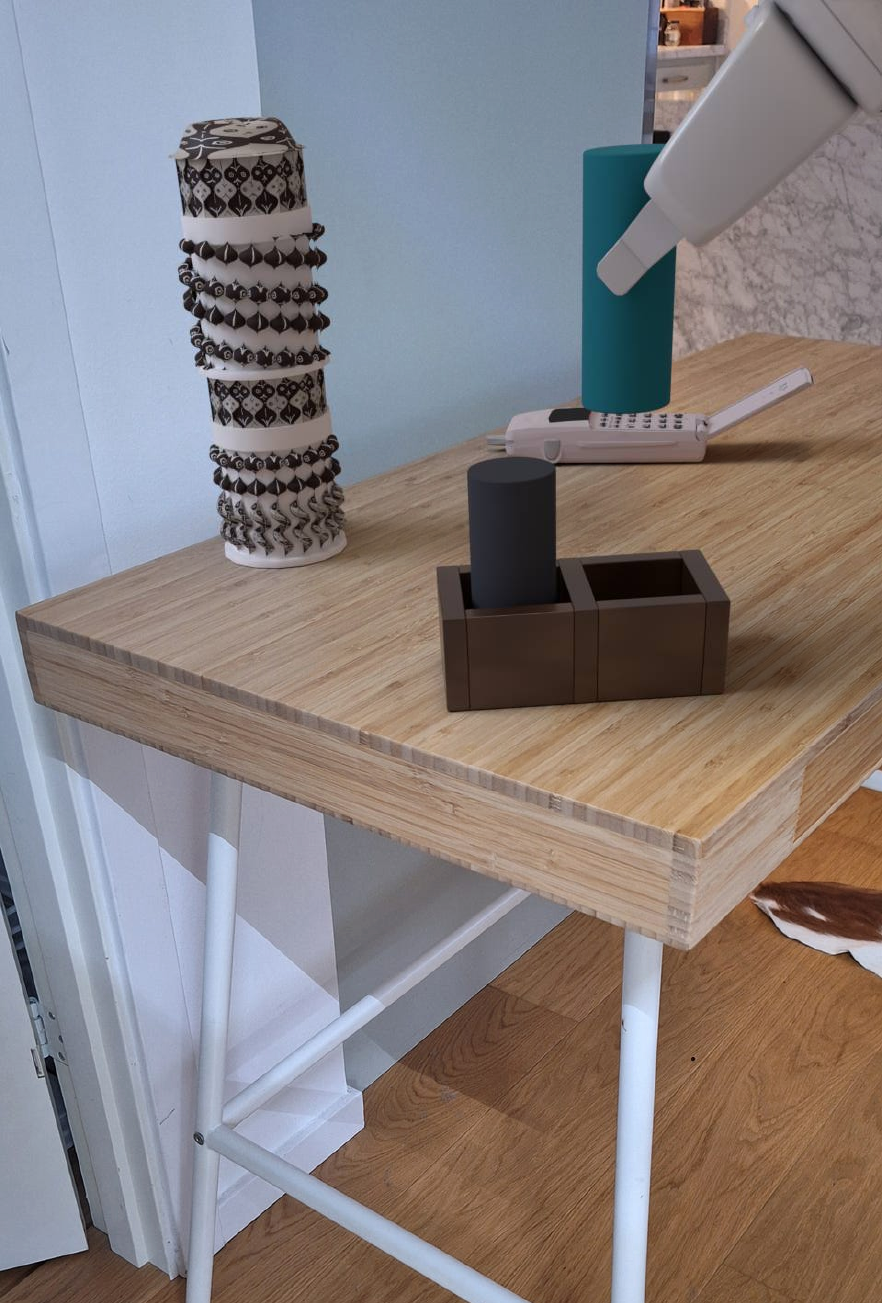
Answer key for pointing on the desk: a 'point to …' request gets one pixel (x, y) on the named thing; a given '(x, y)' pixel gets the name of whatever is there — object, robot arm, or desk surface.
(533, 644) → the mount block
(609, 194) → the teal cylinder
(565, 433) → the mobile phone
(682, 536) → the desk surface
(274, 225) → the white patterned tall cylinder
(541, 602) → the seated dark gray cylinder
